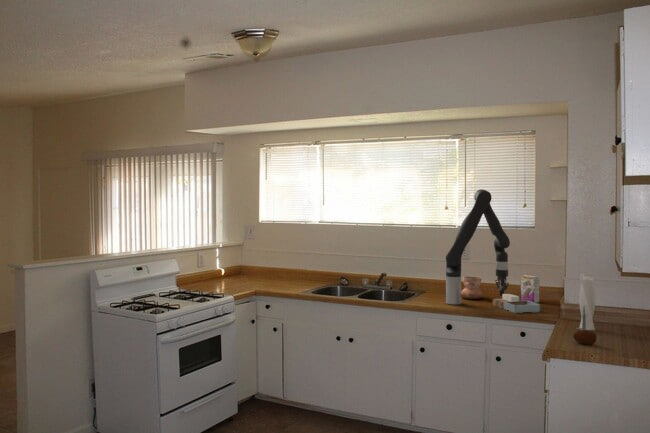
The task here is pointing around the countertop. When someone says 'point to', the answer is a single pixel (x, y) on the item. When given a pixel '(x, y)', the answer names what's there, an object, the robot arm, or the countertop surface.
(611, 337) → the countertop surface
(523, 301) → the board
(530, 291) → the candy bar box
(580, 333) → the potato
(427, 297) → the countertop surface
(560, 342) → the countertop surface
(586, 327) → the white statue
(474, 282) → the ceramic jug
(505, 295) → the tile
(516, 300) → the tile
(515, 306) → the tray
